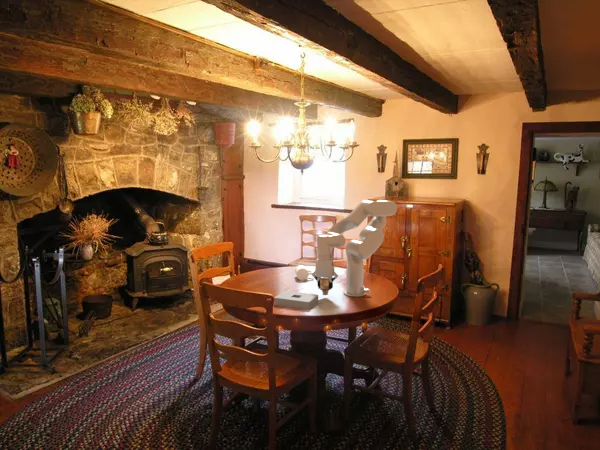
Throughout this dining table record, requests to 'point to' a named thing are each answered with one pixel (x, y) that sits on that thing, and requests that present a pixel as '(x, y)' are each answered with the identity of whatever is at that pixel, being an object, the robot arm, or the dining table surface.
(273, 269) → the dining table surface
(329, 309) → the dining table surface
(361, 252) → the robot arm
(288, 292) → the grey block with hole
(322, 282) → the maple peg
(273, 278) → the dining table surface
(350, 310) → the dining table surface
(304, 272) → the mug
